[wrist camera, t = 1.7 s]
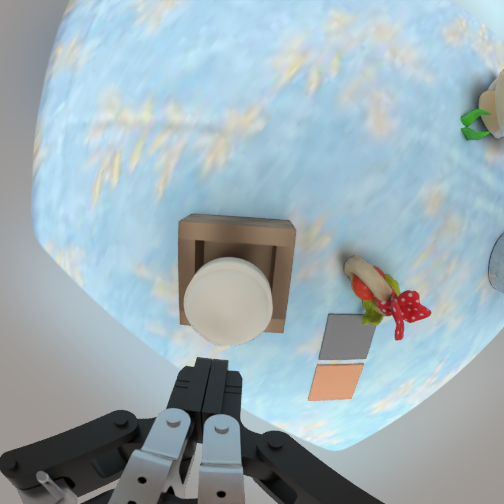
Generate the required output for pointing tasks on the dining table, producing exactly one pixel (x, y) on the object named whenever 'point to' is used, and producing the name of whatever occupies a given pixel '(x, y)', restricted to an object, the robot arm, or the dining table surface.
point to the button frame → (239, 253)
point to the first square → (346, 337)
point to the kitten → (488, 111)
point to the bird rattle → (383, 296)
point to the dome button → (228, 301)
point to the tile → (335, 381)
